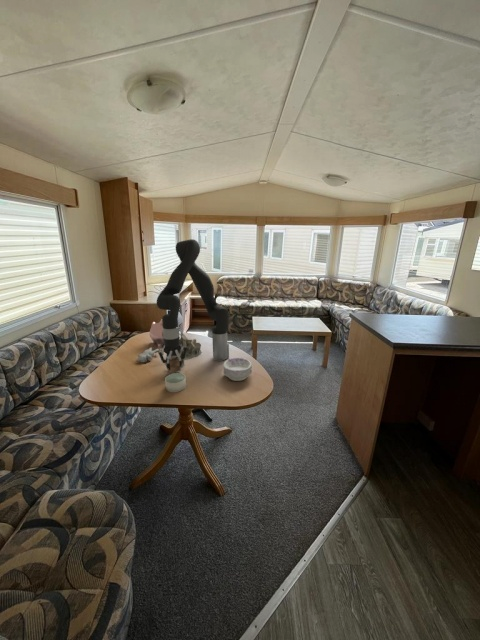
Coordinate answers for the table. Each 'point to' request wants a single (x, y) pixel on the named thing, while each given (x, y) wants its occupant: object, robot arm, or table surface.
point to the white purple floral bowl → (237, 368)
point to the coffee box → (180, 355)
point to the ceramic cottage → (190, 347)
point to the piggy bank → (157, 333)
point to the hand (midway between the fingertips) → (174, 368)
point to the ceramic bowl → (175, 382)
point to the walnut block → (174, 364)
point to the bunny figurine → (146, 355)
